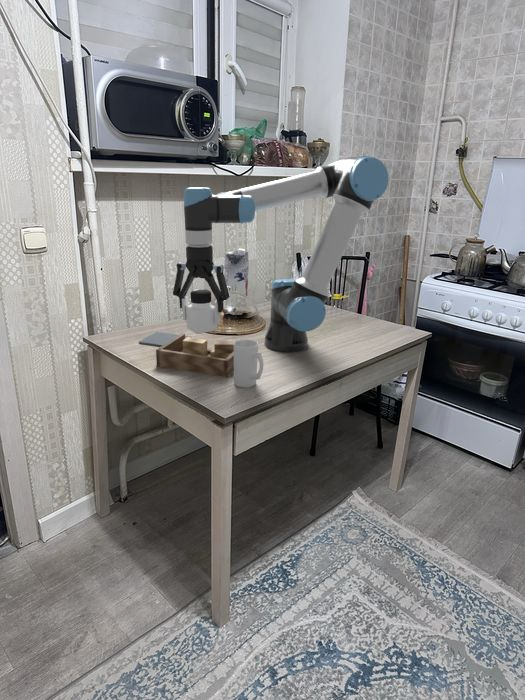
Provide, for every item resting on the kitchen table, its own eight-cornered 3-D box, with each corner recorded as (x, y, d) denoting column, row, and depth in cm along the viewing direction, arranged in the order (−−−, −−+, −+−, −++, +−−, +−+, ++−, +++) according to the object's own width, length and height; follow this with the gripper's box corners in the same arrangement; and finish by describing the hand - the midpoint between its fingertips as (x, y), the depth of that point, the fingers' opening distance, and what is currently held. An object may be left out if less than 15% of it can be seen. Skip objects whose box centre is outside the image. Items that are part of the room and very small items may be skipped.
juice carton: (222, 315, 198) (223, 250, 188) (228, 309, 207) (228, 246, 198) (243, 317, 197) (245, 251, 187) (248, 310, 206) (249, 247, 197)
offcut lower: (237, 360, 152) (237, 351, 151) (234, 363, 149) (234, 355, 148) (214, 356, 154) (214, 348, 153) (210, 360, 151) (210, 351, 150)
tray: (246, 357, 153) (247, 342, 152) (227, 377, 138) (227, 360, 136) (182, 348, 160) (181, 333, 158) (156, 365, 144) (156, 349, 143)
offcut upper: (233, 349, 152) (233, 341, 151) (233, 353, 149) (233, 344, 148) (214, 349, 152) (214, 340, 151) (214, 353, 149) (214, 344, 148)
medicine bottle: (218, 330, 143) (217, 291, 138) (196, 334, 139) (195, 294, 134) (207, 324, 148) (205, 286, 144) (186, 328, 144) (184, 289, 140)
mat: (191, 338, 170) (191, 336, 169) (175, 348, 159) (175, 347, 159) (156, 333, 173) (156, 331, 173) (138, 343, 162) (138, 341, 162)
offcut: (207, 354, 156) (207, 339, 154) (202, 358, 152) (202, 343, 151) (187, 351, 157) (187, 337, 156) (183, 355, 154) (182, 340, 152)
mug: (228, 382, 135) (228, 342, 131) (245, 376, 139) (246, 337, 135) (253, 394, 128) (254, 352, 124) (270, 387, 133) (272, 347, 129)
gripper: (240, 245, 135) (241, 320, 143) (169, 241, 141) (174, 313, 149) (231, 249, 128) (232, 328, 136) (157, 244, 134) (162, 320, 142)
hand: (201, 320), depth 142 cm, fingers closed on medicine bottle, 10 cm apart
